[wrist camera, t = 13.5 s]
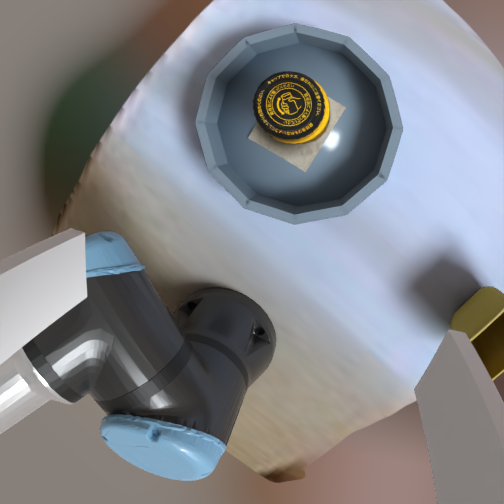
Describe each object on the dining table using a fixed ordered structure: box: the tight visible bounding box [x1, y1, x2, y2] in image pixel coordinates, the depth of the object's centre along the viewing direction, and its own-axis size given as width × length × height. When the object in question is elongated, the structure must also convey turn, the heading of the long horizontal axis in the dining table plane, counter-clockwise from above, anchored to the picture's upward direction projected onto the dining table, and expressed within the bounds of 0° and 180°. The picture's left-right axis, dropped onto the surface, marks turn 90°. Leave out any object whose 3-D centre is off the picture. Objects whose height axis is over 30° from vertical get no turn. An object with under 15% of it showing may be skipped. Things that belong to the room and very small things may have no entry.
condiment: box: [248, 71, 346, 172], centre depth 27 cm, size 7×8×12 cm
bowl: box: [195, 24, 403, 224], centre depth 31 cm, size 20×20×5 cm
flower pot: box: [451, 286, 504, 381], centre depth 31 cm, size 9×9×9 cm
